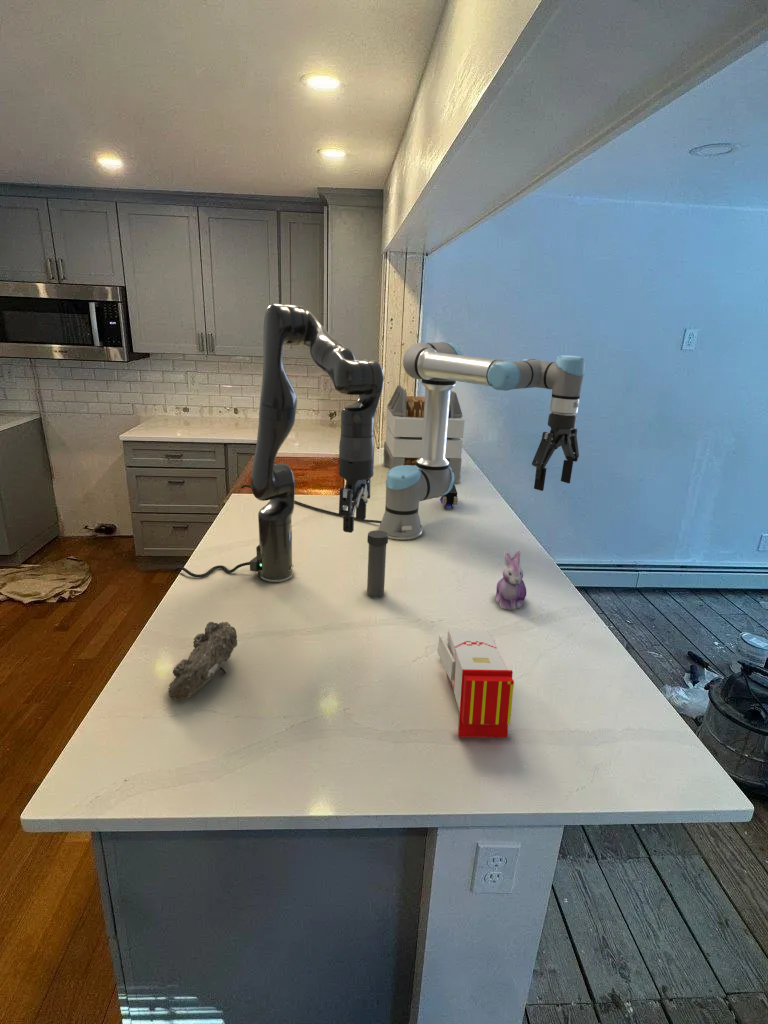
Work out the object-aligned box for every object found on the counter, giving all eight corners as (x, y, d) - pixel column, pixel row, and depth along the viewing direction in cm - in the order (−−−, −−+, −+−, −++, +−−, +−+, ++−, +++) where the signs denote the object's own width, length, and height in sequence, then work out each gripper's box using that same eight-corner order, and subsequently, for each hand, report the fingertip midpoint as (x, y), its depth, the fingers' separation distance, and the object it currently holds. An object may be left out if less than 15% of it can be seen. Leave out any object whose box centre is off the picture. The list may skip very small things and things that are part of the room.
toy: (488, 613, 130) (523, 677, 101) (484, 667, 133) (517, 744, 104) (435, 612, 130) (455, 676, 101) (432, 666, 133) (451, 743, 103)
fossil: (191, 624, 130) (237, 594, 125) (220, 652, 133) (266, 624, 128) (146, 693, 111) (199, 661, 106) (181, 724, 114) (234, 694, 109)
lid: (368, 546, 149) (368, 537, 149) (366, 538, 154) (367, 530, 154) (388, 546, 150) (389, 538, 149) (386, 538, 155) (387, 530, 154)
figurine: (508, 614, 149) (515, 562, 144) (485, 597, 158) (490, 547, 153) (536, 607, 153) (543, 557, 148) (511, 591, 162) (518, 542, 157)
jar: (367, 597, 155) (369, 539, 149) (366, 589, 159) (368, 532, 153) (384, 597, 155) (387, 539, 150) (383, 589, 160) (385, 532, 154)
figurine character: (457, 514, 225) (453, 498, 239) (459, 497, 222) (455, 481, 236) (441, 513, 225) (437, 497, 239) (442, 496, 222) (439, 481, 235)
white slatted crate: (382, 463, 289) (386, 382, 275) (445, 464, 293) (451, 384, 279) (390, 482, 257) (394, 392, 243) (460, 483, 261) (468, 394, 247)
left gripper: (351, 446, 130) (349, 513, 135) (328, 460, 117) (327, 533, 122) (382, 450, 128) (379, 517, 133) (362, 465, 115) (360, 539, 120)
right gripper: (548, 419, 148) (537, 496, 155) (598, 411, 163) (586, 482, 171) (525, 414, 153) (515, 489, 160) (575, 407, 169) (564, 476, 176)
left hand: (354, 525), depth 128 cm, fingers open, 8 cm apart
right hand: (552, 485), depth 166 cm, fingers open, 13 cm apart
